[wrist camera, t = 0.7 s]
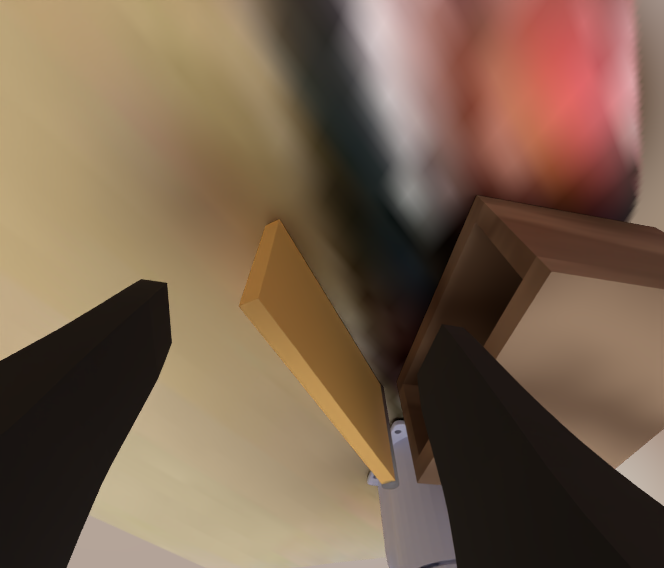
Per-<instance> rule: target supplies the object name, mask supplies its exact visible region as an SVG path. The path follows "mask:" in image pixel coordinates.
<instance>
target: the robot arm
mask: <svg viewBox="0 0 664 568" xmlns="http://www.w3.org/2000/svg"><path fill="white" fill-rule="evenodd" d="M171 344H172V339H171V326H170V314H169V301H168V288H167V283H163V282H157V281H150V280H143V279H141V280H139V281H137V282H136V283H134V284H132V285H131V286H129V287H127V288H126V289H124V290H122V291H121V292H119V293H118V294H116V295H114V296H113V297H111V298H109V299H108V300H106V301H105V302H103V303H101V304H100V305H98V306H97V307H95V308H93V309H92V310H90V311H88V312H87V313H85V314H83V315H81V316H80V317H78V318H76V319H75V320H73V321H71V322H70V323H68V324H66V325H65V326H63V327H61V328H60V329H58V330H56V331H54V332H52V333H51V334H49V335H47V336H45V337H43V338H41V339H40V340H38V341H36V342H34V343H32V344H31V345H29V346H27V347H25V348H23V349H21V350H20V351H18V352H16V353H14V354H12V355H10V356H9V357H7V358H5V359H3V360H1V361H0V568H67V565H68V563H69V560H70V558H71V555H72V553H73V550H74V548H75V546H76V543H77V540H78V538H79V536H80V533H81V531H82V529H83V526H84V524H85V522H86V519H87V517H88V515H89V512H90V510H91V508H92V505H93V503H94V501H95V498H96V496H97V494H98V492H99V489H100V487H101V485H102V483H103V481H104V479H105V477H106V475H107V473H108V470H109V468H110V466H111V464H112V463H113V461H114V459H115V457H116V455H117V453H118V452H119V450H120V448H121V446H122V444H123V442H124V441H125V439H126V437H127V435H128V433H129V431H130V430H131V428H132V426H133V424H134V422H135V420H136V419H137V417H138V415H139V413H140V411H141V409H142V408H143V406H144V404H145V402H146V400H147V398H148V396H149V394H150V393H151V391H152V389H153V387H154V385H155V383H156V381H157V379H158V377H159V375H160V372H161V370H162V367H163V365H164V362H165V360H166V357H167V354H168V352H169V349H170V346H171ZM417 379H418V388H419V396H420V403H421V410H422V414H423V418H424V422H425V426H426V430H427V433H428V437H429V441H430V445H431V448H432V452H433V456H434V460H435V463H436V467H437V471H438V474H439V478H440V482H441V485H433V484H421V483H417V480H416V475H415V470H414V465H413V460H412V456H411V451H410V446H409V441H408V436H407V431H406V426H405V421H404V420H397V421H395V422H394V423H393V425H392V427H391V429H390V430H391V436H392V442H393V448H394V454H395V460H396V466H397V472H398V478H399V487H397V488H395V489H390V490H389V489H384V488H382V485H381V483H380V481H379V480H378V479H377V478H376V476H375V475H374V474H373V473H372V471H370V474H369V476H368V478H367V483H368V484H369V485H376V486H378V491H379V500H380V508H381V517H382V526H383V534H384V543H385V552H386V558H387V562H388V566H389V568H664V506H663V505H661V504H660V503H659V502H657V501H656V500H654V499H653V498H652V497H650V496H649V495H648V494H647V493H645V492H644V491H642V490H641V489H640V488H638V487H637V486H636V485H634V484H633V483H632V482H631V481H629V480H628V479H627V478H626V477H624V476H623V475H621V474H620V473H619V472H618V471H617V470H615V469H614V468H613V467H612V466H611V465H609V464H608V463H607V462H606V461H604V460H603V459H602V458H601V457H600V456H598V455H597V454H596V453H595V452H594V451H592V450H591V449H590V448H589V447H588V446H586V445H585V444H584V443H583V442H582V441H580V440H579V439H578V438H577V437H576V436H575V435H574V434H572V433H571V432H570V431H569V430H568V429H567V428H566V427H565V426H564V425H562V424H561V423H560V422H559V421H558V420H557V419H556V418H555V417H554V416H553V415H552V414H551V413H549V412H548V411H547V410H546V409H545V408H544V407H543V406H542V405H541V404H540V403H539V402H538V401H537V400H536V399H535V398H534V397H533V396H532V395H531V394H529V393H528V392H527V391H526V390H525V389H524V388H523V387H522V386H521V385H520V384H519V383H518V382H517V381H516V380H515V379H514V378H513V377H512V376H511V375H510V374H509V372H508V371H507V370H506V369H505V368H504V367H503V366H502V365H501V364H500V363H499V362H498V361H497V360H496V359H495V358H494V357H493V356H492V355H491V354H490V353H489V352H488V351H487V350H486V349H485V348H484V347H483V346H482V345H481V344H480V343H479V342H478V341H477V340H476V339H475V338H474V337H473V336H472V335H471V334H470V333H469V332H468V331H467V330H466V329H464V328H463V327H458V326H452V325H445V324H442V325H441V327H440V329H439V331H438V333H437V335H436V337H435V339H434V341H433V343H432V345H431V347H430V349H429V351H428V353H427V355H426V357H425V359H424V361H423V363H422V365H421V367H420V369H419V371H418V373H417Z"/></svg>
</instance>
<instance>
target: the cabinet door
mask: <svg viewBox="0 0 664 568" xmlns="http://www.w3.org/2000/svg"><path fill="white" fill-rule="evenodd" d="M239 307H240V309H241V310H242V311H243V312H244V314H245V315H246V316H247V317H248V318H249V320H250V321H251V322H252V323H253V325H254V326H255V327H256V328H257V330H258V331H259V332H260V333H261V335H262V336H263V337H264V338H265V340H266V341H267V342H268V343H269V345H270V346H271V347H272V348H273V350H274V351H275V352H276V353H277V355H278V356H279V357H280V358H281V360H282V361H283V362H284V363H285V365H286V366H287V367H288V368H289V369H290V371H291V372H292V373H293V374H294V376H295V377H296V378H297V379H298V381H299V382H300V383H301V384H302V386H303V387H304V388H305V389H306V391H307V392H308V393H309V394H310V396H311V397H312V398H313V399H314V401H315V402H316V403H317V404H318V406H319V407H320V408H321V409H322V411H323V412H324V413H325V414H326V416H327V417H328V418H329V419H330V420H331V422H332V423H333V424H334V425H335V427H336V428H337V429H338V430H339V432H340V433H341V434H342V435H343V437H344V438H345V439H346V440H347V442H348V443H349V444H350V445H351V447H352V448H353V449H354V450H355V452H356V453H357V454H358V455H359V457H360V458H361V459H362V460H363V462H364V463H365V464H366V465H367V466H368V468H369V469H370V470H371V471H372V473H373V474H374V475H375V476H376V478H377V479H378V480H379V481H380V483H381V485H382V488H384V489H389V490H390V489H395V488H397V487H399V478H398V472H397V466H396V460H395V454H394V448H393V442H392V436H391V430H390V424H389V417H388V411H387V405H386V399H385V393H384V387H383V386H382V385H380V383H379V382H378V380H377V378H376V377H375V375H374V374H373V372H372V370H371V369H370V367H369V365H368V364H367V362H366V360H365V359H364V357H363V355H362V354H361V352H360V351H359V349H358V347H357V346H356V344H355V342H354V341H353V339H352V337H351V336H350V334H349V332H348V331H347V329H346V328H345V326H344V324H343V323H342V321H341V319H340V318H339V316H338V314H337V313H336V311H335V310H334V308H333V306H332V305H331V303H330V301H329V300H328V298H327V296H326V295H325V293H324V291H323V290H322V288H321V287H320V285H319V283H318V282H317V280H316V278H315V277H314V275H313V273H312V272H311V270H310V269H309V267H308V265H307V264H306V262H305V260H304V259H303V257H302V255H301V254H300V252H299V250H298V249H297V247H296V246H295V244H294V242H293V241H292V239H291V237H290V236H289V234H288V232H287V231H286V229H285V227H284V226H283V224H282V223H281V221H280V219H278V220H276V221H274V222H272V223H270V224H268V225H266V226H265V229H264V232H263V235H262V238H261V241H260V244H259V247H258V250H257V253H256V256H255V259H254V262H253V265H252V268H251V271H250V274H249V277H248V280H247V283H246V286H245V289H244V292H243V295H242V298H241V301H240V304H239Z"/></svg>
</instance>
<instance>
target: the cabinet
mask: <svg viewBox="0 0 664 568" xmlns="http://www.w3.org/2000/svg"><path fill="white" fill-rule="evenodd" d="M442 324H445V325H452V326H458V327H463V328H464V329H466V330H467V331H468V332H469V333H470V334H471V335H472V336H473V337H474V338H475V339H476V340H477V341H478V342H479V343H480V344H481V345H482V346H483V347H484V348H485V349H486V350H487V351H488V352H489V353H490V354H491V355H492V356H493V357H494V358H495V359H496V360H497V361H498V362H499V363H500V364H501V365H502V366H503V367H504V368H505V369H506V370H507V371H508V372H509V374H510V375H511V376H512V377H513V378H514V379H515V380H516V381H517V382H518V383H519V384H520V385H521V386H522V387H523V388H524V389H525V390H526V391H527V392H528V393H529V394H531V395H532V396H533V397H534V398H535V399H536V400H537V401H538V402H539V403H540V404H541V405H542V406H543V407H544V408H545V409H546V410H547V411H548V412H549V413H551V414H552V415H553V416H554V417H555V418H556V419H557V420H558V421H559V422H560V423H561V424H562V425H564V426H565V427H566V428H567V429H568V430H569V431H570V432H571V433H572V434H574V435H575V436H576V437H577V438H578V439H579V440H580V441H582V442H583V443H584V444H585V445H586V446H588V447H589V448H590V449H591V450H592V451H594V452H595V453H596V454H597V455H598V456H600V457H601V458H602V459H603V460H604V461H606V462H607V463H608V464H609V465H611V466H612V467H613V468H614V469H615V468H617V467H618V466H619V465H620V464H622V463H623V462H624V461H625V460H626V459H628V458H629V457H630V456H631V455H632V454H634V453H635V452H636V451H637V450H639V449H640V448H641V447H642V446H643V445H645V444H646V443H647V442H648V441H649V440H651V439H652V438H653V437H654V436H655V435H657V434H658V433H659V432H660V431H661V430H663V429H664V232H662V231H661V230H659V229H657V228H655V227H650V226H644V225H639V224H633V223H628V222H622V221H617V220H611V219H606V218H600V217H595V216H589V215H584V214H578V213H573V212H567V211H562V210H556V209H551V208H545V207H540V206H534V205H529V204H523V203H518V202H512V201H507V200H501V199H496V198H490V197H485V196H479V195H477V196H476V198H475V200H474V203H473V205H472V207H471V209H470V212H469V214H468V216H467V219H466V221H465V223H464V226H463V228H462V230H461V233H460V235H459V237H458V240H457V242H456V244H455V247H454V249H453V251H452V254H451V256H450V258H449V261H448V263H447V265H446V268H445V270H444V272H443V275H442V277H441V279H440V282H439V284H438V286H437V289H436V291H435V293H434V296H433V298H432V300H431V302H430V305H429V307H428V309H427V312H426V314H425V316H424V319H423V321H422V323H421V326H420V328H419V330H418V333H417V335H416V337H415V340H414V342H413V344H412V347H411V349H410V351H409V354H408V356H407V358H406V361H405V363H404V365H403V368H402V370H401V372H400V375H399V377H398V379H397V387H398V392H399V397H400V402H401V407H402V412H403V417H404V421H405V426H406V431H407V436H408V441H409V446H410V451H411V456H412V460H413V465H414V470H415V475H416V480H417V483H421V484H433V485H441V482H440V478H439V474H438V471H437V467H436V463H435V460H434V456H433V452H432V448H431V445H430V441H429V437H428V433H427V430H426V426H425V422H424V418H423V414H422V410H421V403H420V396H419V388H418V379H417V373H418V371H419V369H420V367H421V365H422V363H423V361H424V359H425V357H426V355H427V353H428V351H429V349H430V347H431V345H432V343H433V341H434V339H435V337H436V335H437V333H438V331H439V329H440V327H441V325H442Z"/></svg>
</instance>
